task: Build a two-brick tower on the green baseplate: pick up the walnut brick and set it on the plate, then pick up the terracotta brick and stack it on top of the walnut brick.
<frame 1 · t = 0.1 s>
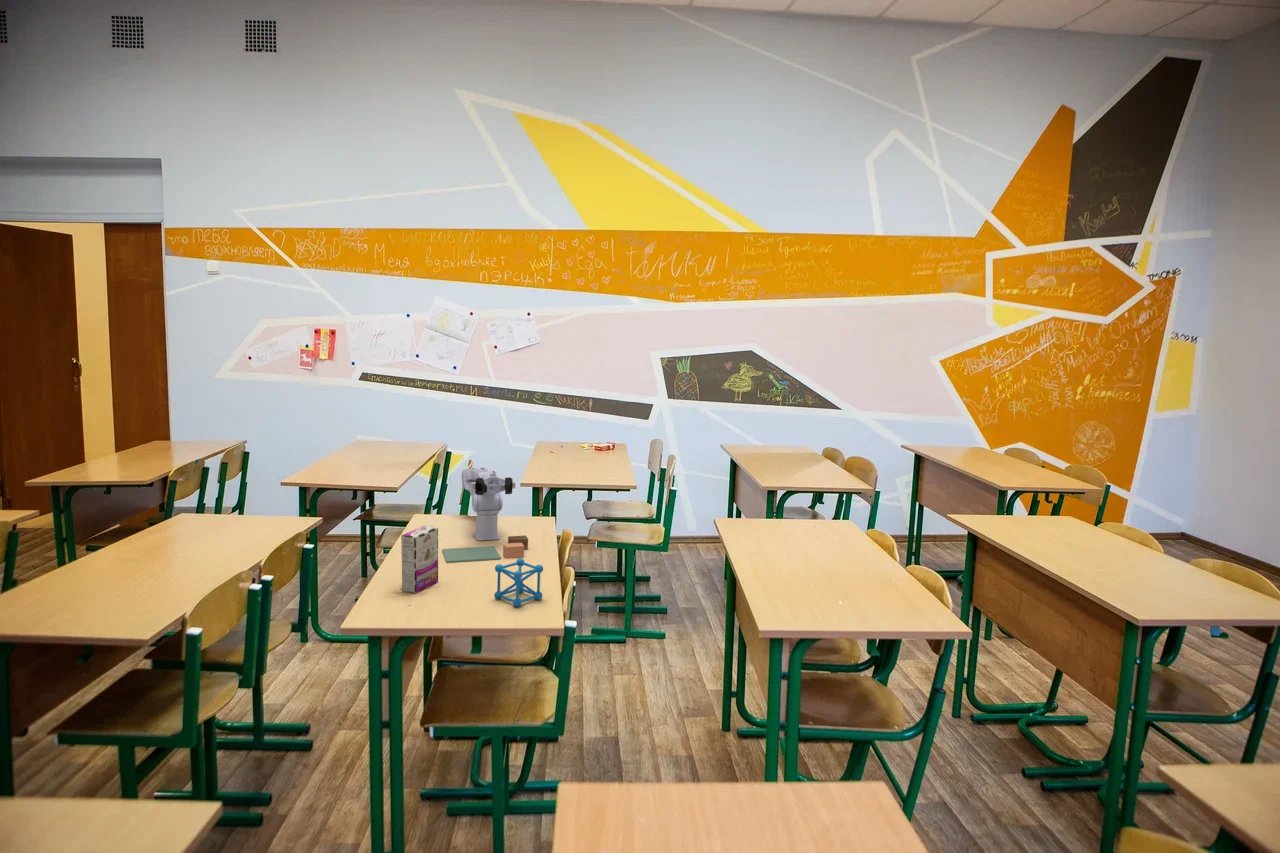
hand: (497, 489, 247), 22 cm above the table, tool horizontal, fingers open, 7 cm apart
molecular structure: (518, 600, 211), on the table
candy bar box: (419, 587, 217), on the table
terracotta brick: (513, 556, 248), on the table
walnut brick: (517, 549, 256), on the table
baseplate: (471, 555, 247), on the table
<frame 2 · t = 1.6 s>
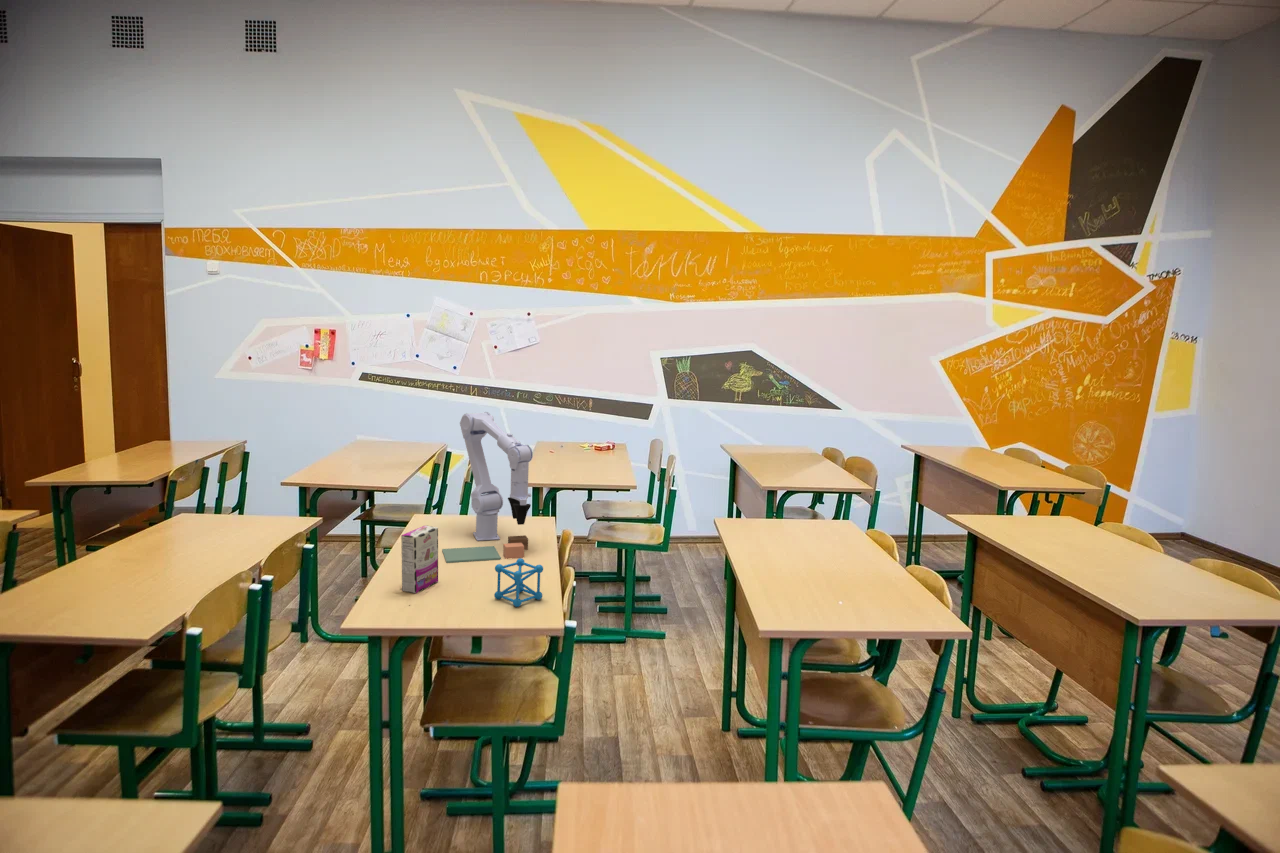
hand: (518, 521, 255), 9 cm above the table, tool pointing down, fingers open, 7 cm apart
nothing on the table moved.
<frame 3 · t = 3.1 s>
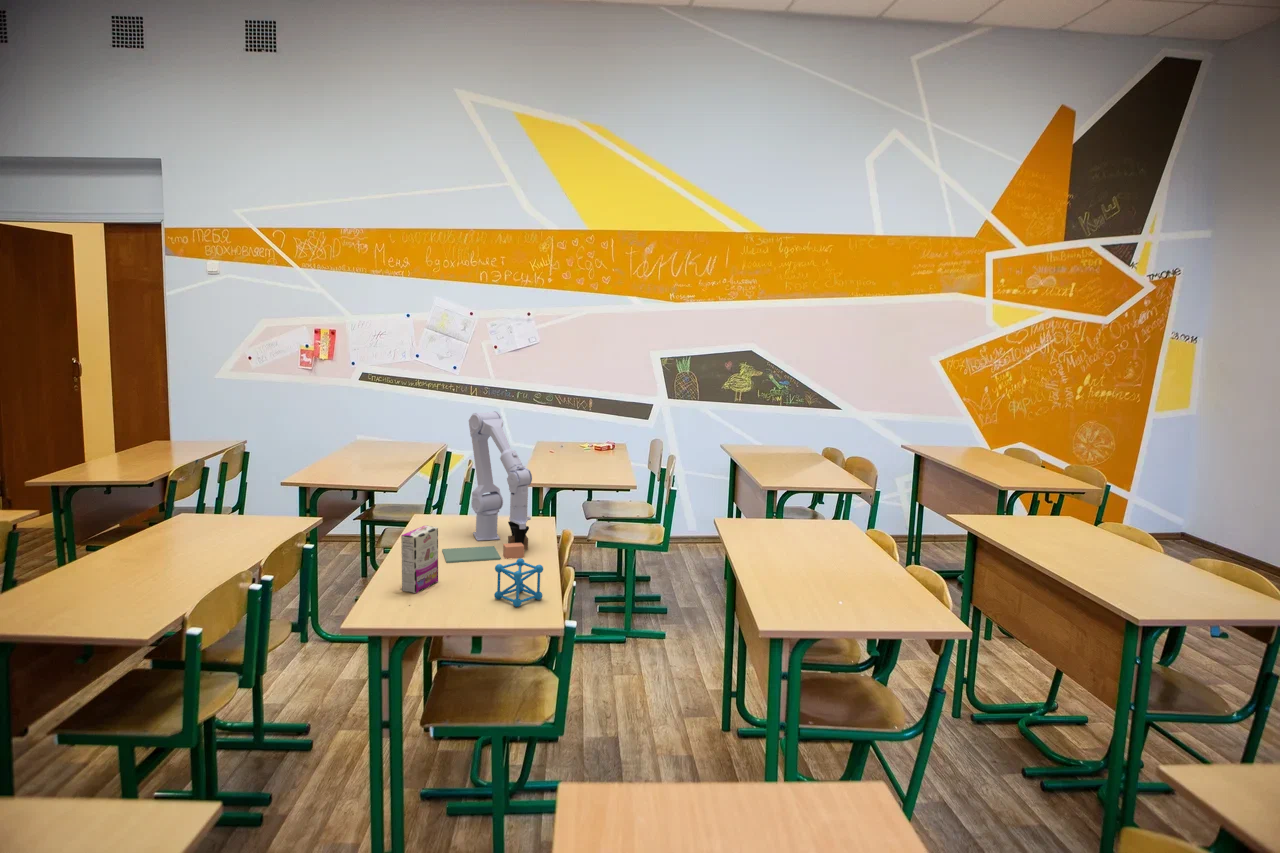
hand: (517, 544, 256), 1 cm above the table, tool pointing down, fingers closed on walnut brick, 4 cm apart
walnut brick: (517, 548, 256), on the table, touching gripper
everything else where it was.
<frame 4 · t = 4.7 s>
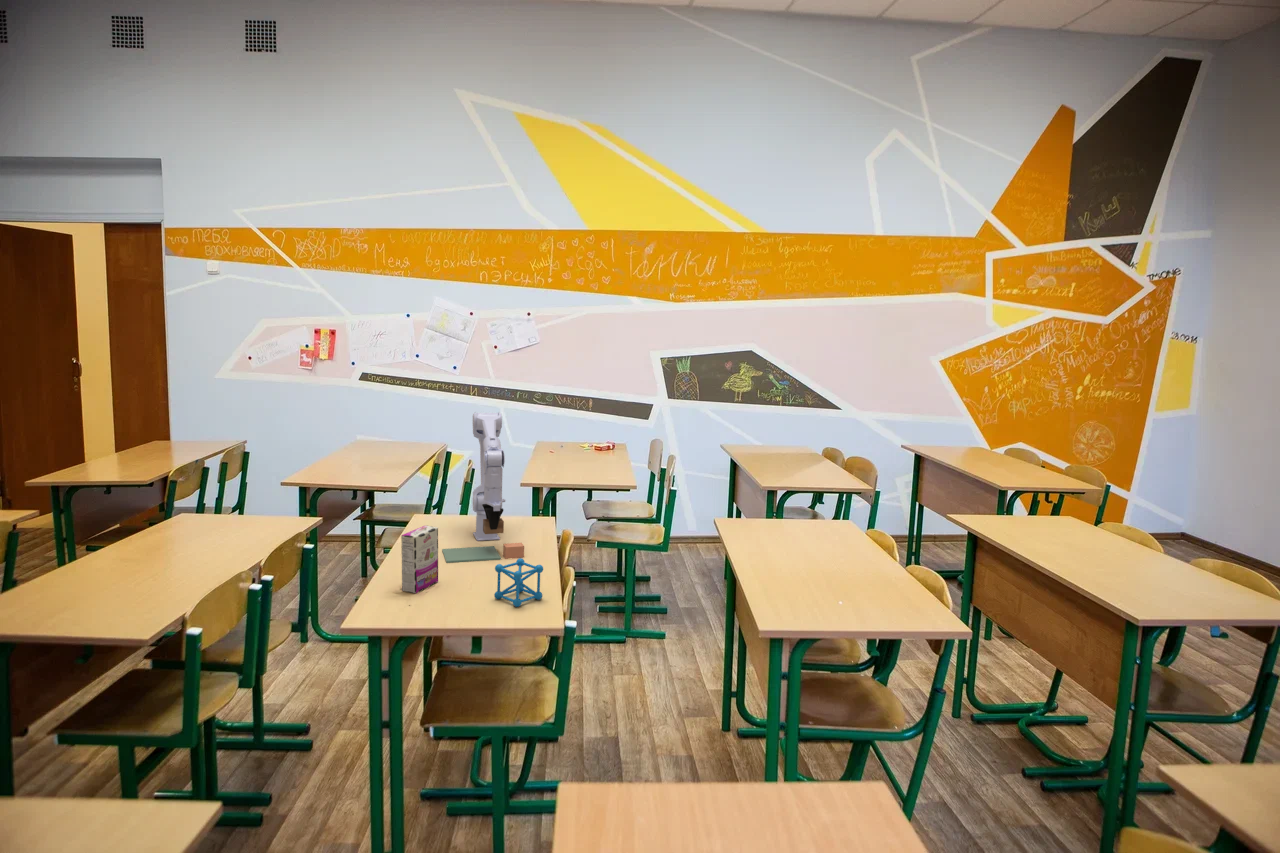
hand: (492, 527, 250), 8 cm above the table, tool pointing down, fingers closed on walnut brick, 4 cm apart
walnut brick: (493, 532, 250), point 7 cm above the table, touching gripper
everything else where it was.
when the fingers open (3 cm above the table, at t = 6.6 s): walnut brick stays where it is, resting on baseplate.
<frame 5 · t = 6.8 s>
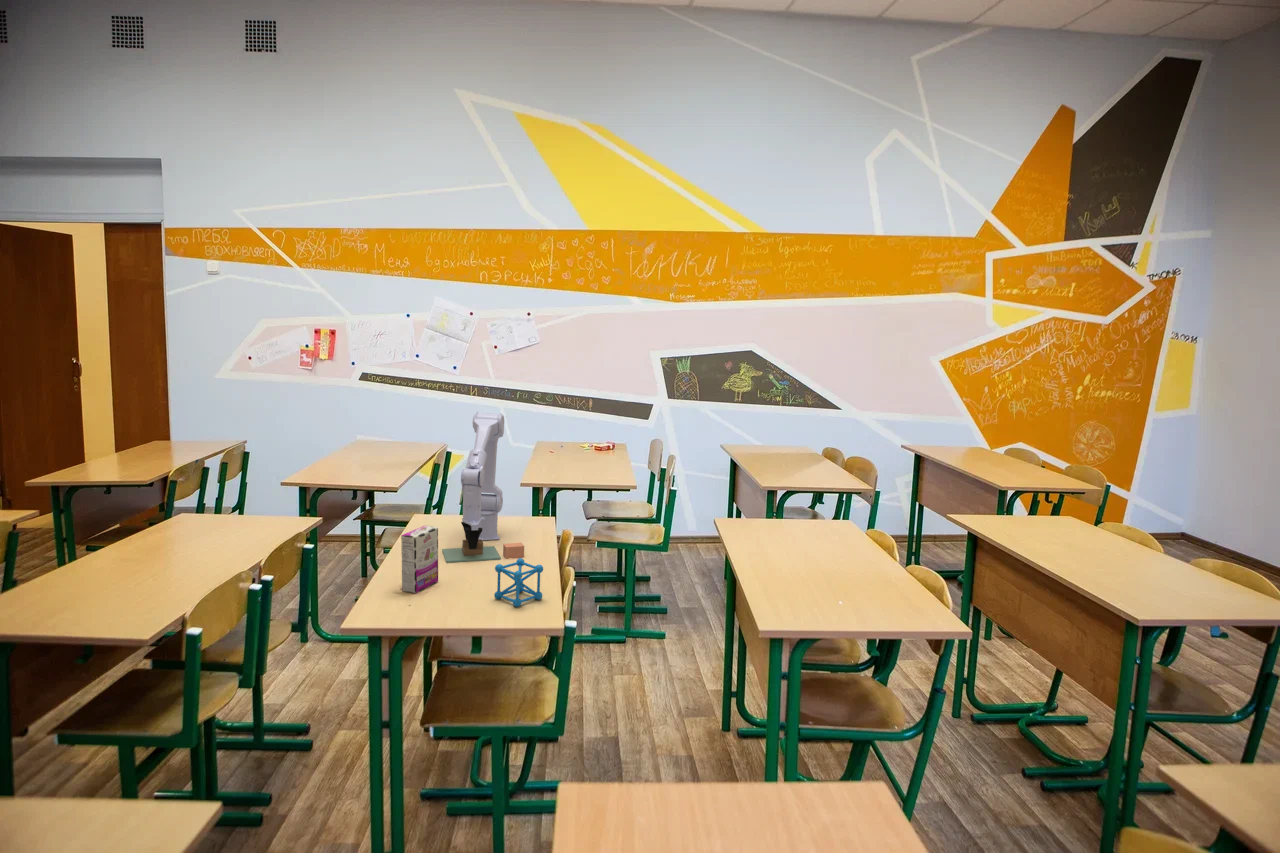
hand: (471, 546, 247), 3 cm above the table, tool pointing down, fingers open, 5 cm apart
walnut brick: (472, 553, 247), point 1 cm above the table, touching baseplate
everything else where it was.
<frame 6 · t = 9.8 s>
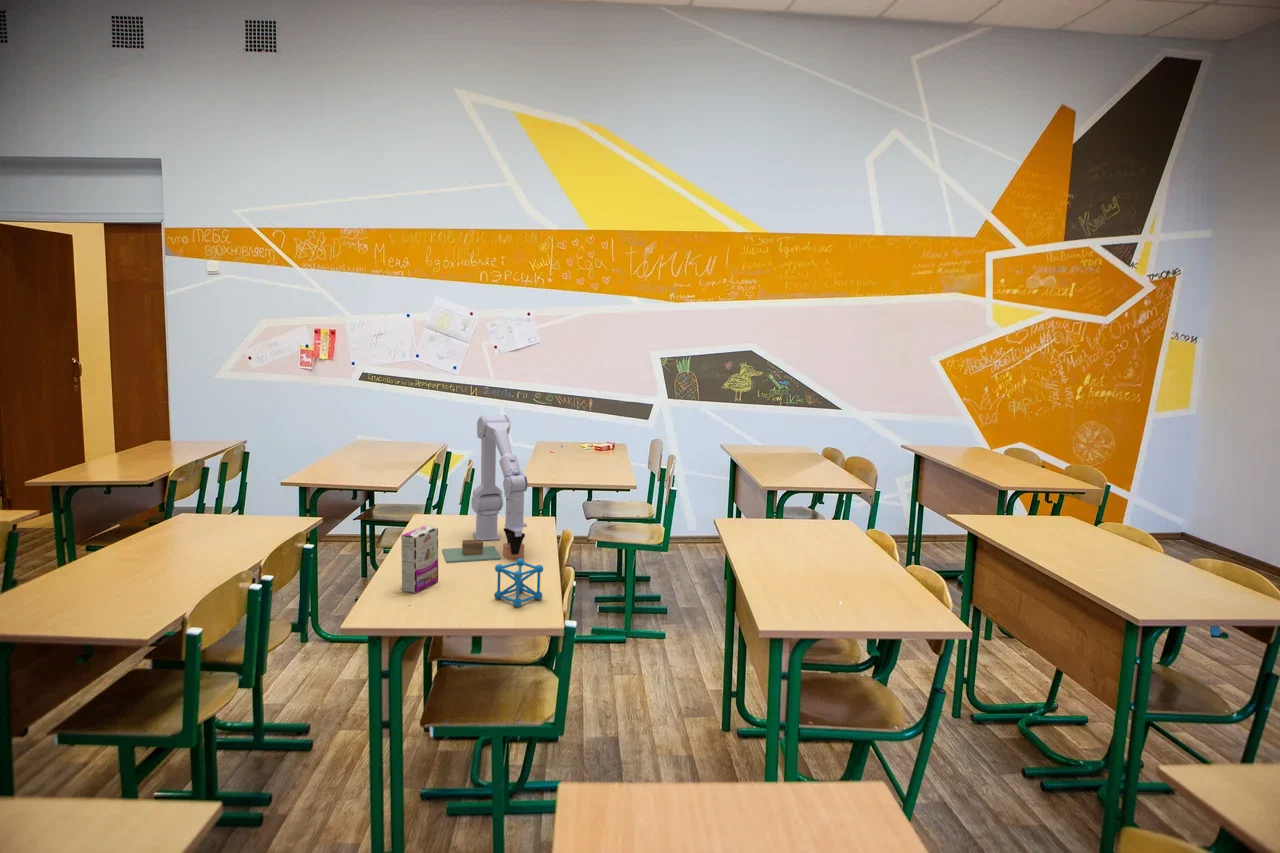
hand: (513, 552, 248), 1 cm above the table, tool pointing down, fingers closed on terracotta brick, 4 cm apart
terracotta brick: (513, 556, 248), on the table, touching gripper
everything else where it was.
when the fingers open (7 cm above the table, at t = 12.8 s): terracotta brick stays where it is, resting on walnut brick.
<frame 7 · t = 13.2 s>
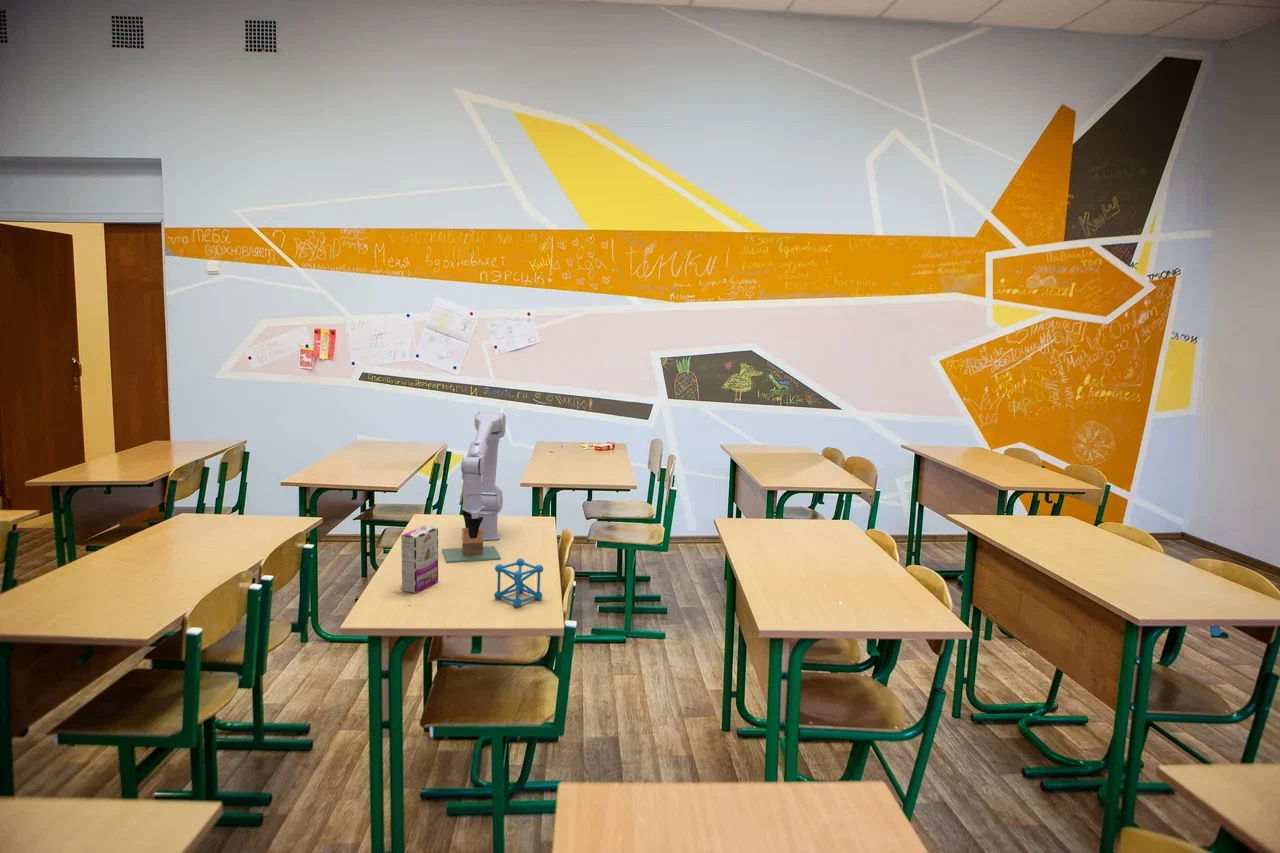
hand: (471, 534, 246), 7 cm above the table, tool pointing down, fingers open, 7 cm apart
terracotta brick: (472, 541, 246), point 5 cm above the table, touching walnut brick
walnut brick: (472, 553, 247), point 1 cm above the table, touching baseplate, terracotta brick
everything else where it was.
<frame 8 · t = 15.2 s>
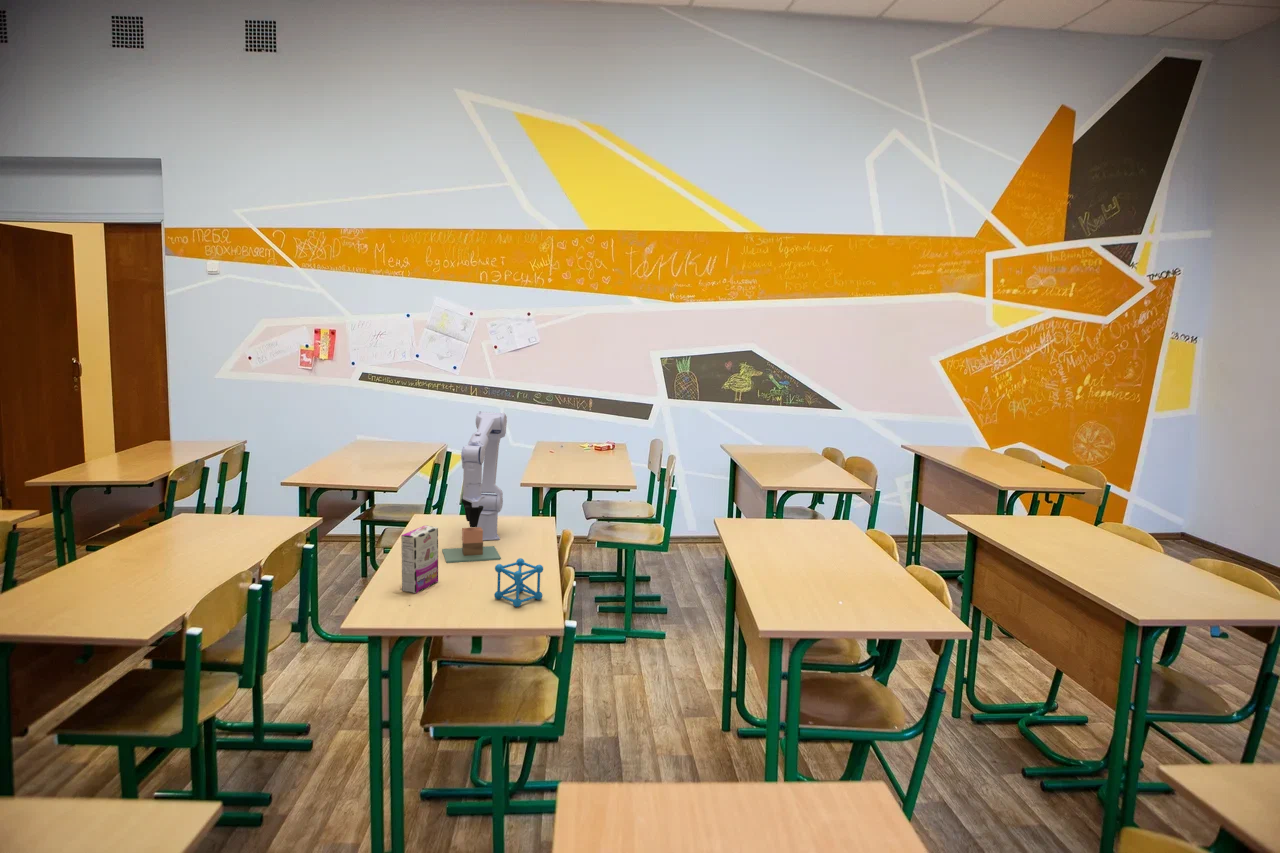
hand: (471, 523, 246), 10 cm above the table, tool pointing down, fingers open, 7 cm apart
nothing on the table moved.
at the end: walnut brick inside the target area on the baseplate (0.4 cm from its centre), point 0.6 cm above the baseplate's base; terracotta brick 0.1 cm off-centre on the walnut brick, point 4.0 cm above the walnut brick's base; terracotta brick tilted 0° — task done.
